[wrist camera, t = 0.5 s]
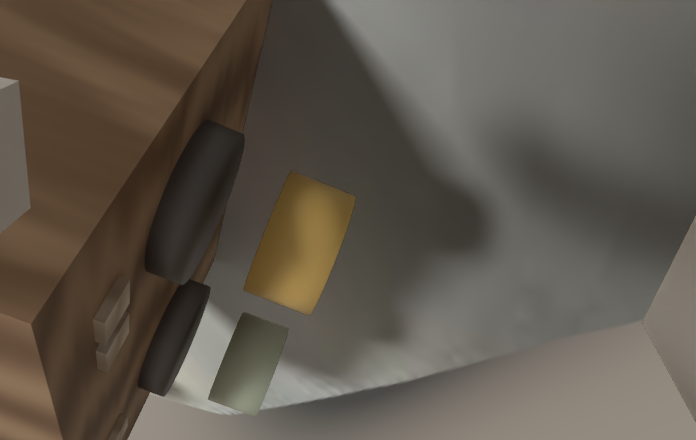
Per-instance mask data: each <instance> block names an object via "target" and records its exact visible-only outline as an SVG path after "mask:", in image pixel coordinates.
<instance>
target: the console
mask: <svg viewBox="0 0 696 440" xmlns="http://www.w3.org/2000/svg"><path fill="white" fill-rule="evenodd" d="M271 3H272V0H0V77H2V78H7V79H12V80H18V81H19V90H20V100H21V111H22V121H23V132H24V143H25V153H26V164H27V174H28V185H29V196H30V206H31V208H30V209H29V210H28V211H26V212H25V213H24V214H23V215H22V216H20V217H19V218H18V219H17V220H16V221H14V222H13V223H12V224H11V225H10V226H8V227H7V228H6V229H5V230H4V231H2V232H1V233H0V440H127V439H128V437H129V435H130V433H131V431H132V428H133V427H134V424H135V422H136V420H137V418H138V416H139V414H140V412H141V410H142V408H143V406H144V404H145V402H146V399H147V398H148V396H149V393H150V392H152V393H155V394H157V395H160V396H163V397H164V396H165V395H166V394H167V392H168V391H169V389H170V387H171V386H172V384H173V382H174V380H175V378H176V376H177V374H178V372H179V370H180V368H181V366H182V364H183V362H184V359H185V357H186V355H187V353H188V350H189V348H190V346H191V343H192V341H193V339H194V336H195V334H196V331H197V329H198V326H199V324H200V321H201V318H202V316H203V313H204V310H205V307H206V304H207V301H208V298H209V294H210V287H209V286H207V285H204V284H203V282H204V280H205V278H206V275H207V273H208V271H209V269H210V267H211V265H212V263H213V261H214V256H215V252H216V247H217V243H218V239H219V234H220V230H221V225H222V221H223V216H224V212H225V208H226V203H227V200H228V198H229V195H230V192H231V189H232V187H233V184H234V181H235V178H236V175H237V171H238V168H239V165H240V161H241V157H242V153H243V148H244V140H245V138H244V134H242V132H243V128H244V123H245V119H246V114H247V110H248V105H249V101H250V97H251V92H252V88H253V83H254V79H255V74H256V70H257V65H258V61H259V57H260V52H261V48H262V43H263V39H264V34H265V30H266V26H267V21H268V17H269V12H270V8H271Z"/></svg>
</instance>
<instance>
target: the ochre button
mask: <svg viewBox="0 0 696 440" xmlns="http://www.w3.org/2000/svg"><path fill="white" fill-rule="evenodd" d="M355 200H356V196H354V195H351V194H349V193H346V192H344V191H341V190H339V189H336V188H334V187H331V186H329V185H326V184H324V183H321V182H319V181H316V180H314V179H311V178H309V177H306V176H304V175H301V174H299V173H296V172H294V171H291V172H290V173H289V175H288V177H287V179H286V182H285V184H284V186H283V188H282V191H281V193H280V195H279V197H278V200H277V202H276V205H275V207H274V209H273V212H272V214H271V217H270V219H269V222H268V224H267V227H266V229H265V232H264V234H263V237H262V239H261V242H260V244H259V247H258V250H257V252H256V255H255V257H254V260H253V263H252V266H251V268H250V271H249V274H248V277H247V280H246V283H245V286H244V291H246V292H248V293H251V294H254V295H256V296H259V297H262V298H264V299H267V300H269V301H272V302H275V303H277V304H280V305H283V306H285V307H288V308H290V309H293V310H296V311H298V312H301V313H304V314H306V315H310V314H311V313H312V311H313V310H314V308H315V306H316V304H317V302H318V300H319V298H320V296H321V293H322V291H323V289H324V287H325V284H326V282H327V280H328V277H329V275H330V273H331V270H332V268H333V265H334V263H335V260H336V258H337V255H338V252H339V250H340V247H341V244H342V242H343V239H344V236H345V233H346V231H347V228H348V225H349V222H350V219H351V215H352V212H353V209H354V205H355Z"/></svg>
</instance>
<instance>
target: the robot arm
mask: <svg viewBox="0 0 696 440" xmlns="http://www.w3.org/2000/svg"><path fill="white" fill-rule="evenodd" d="M30 208H31V206H30V196H29V185H28V174H27V164H26V153H25V143H24V132H23V121H22V111H21V100H20V90H19V81H18V80H12V79H7V78H2V77H0V233H1V232H2V231H4V230H5V229H6V228H7V227H8V226H10V225H11V224H12V223H13V222H14V221H16V220H17V219H18V218H19V217H20V216H22V215H23V214H24V213H25V212H26V211H28V210H29V209H30ZM642 324H643V326H644V328H645V330H646V331H647V334H648V335H649V337H650V339H651V341H652V343H653V345H654V346H655V348H656V350H657V352H658V354H659V356H660V357H661V359H662V361H663V363H664V365H665V366H666V368H667V370H668V372H669V374H670V376H671V378H672V380H673V381H674V383H675V385H676V387H677V389H678V390H679V392H680V394H681V396H682V398H683V400H684V401H685V403H686V405H687V407H688V409H689V411H690V413H691V414H692V416H693V418H694V420H695V421H696V216H695V218H694V220H693V222H692V224H691V226H690V228H689V230H688V232H687V234H686V236H685V238H684V240H683V242H682V244H681V246H680V248H679V250H678V252H677V254H676V256H675V258H674V260H673V262H672V264H671V266H670V268H669V270H668V272H667V274H666V276H665V278H664V280H663V282H662V284H661V286H660V288H659V290H658V292H657V294H656V296H655V298H654V300H653V302H652V304H651V306H650V308H649V310H648V312H647V314H646V316H645V318H644V320H643V322H642Z"/></svg>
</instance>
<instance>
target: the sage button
mask: <svg viewBox="0 0 696 440" xmlns="http://www.w3.org/2000/svg"><path fill="white" fill-rule="evenodd" d="M288 330H289V329H288V328H285V327H283V326H280V325H277V324H275V323H272V322H269V321H267V320H264V319H262V318H259V317H256V316H254V315H251V314H248V313H246V312H243V313H242V315H241V317H240V320H239V322H238V324H237V326H236V329H235V331H234V334H233V336H232V338H231V341H230V343H229V346H228V348H227V350H226V353H225V355H224V358H223V360H222V363H221V365H220V368H219V370H218V373H217V376H216V378H215V381H214V383H213V386H212V389H211V391H210V394H209V397H208V400H211V401H213V402H216V403H219V404H222V405H224V406H227V407H230V408H233V409H235V410H238V411H241V412H244V413H246V414H249V415H252V416H256V415H257V413H258V411H259V409H260V406H261V404H262V402H263V399H264V397H265V395H266V392H267V390H268V387H269V385H270V382H271V380H272V377H273V374H274V372H275V369H276V366H277V364H278V361H279V358H280V355H281V353H282V350H283V347H284V344H285V341H286V338H287V334H288Z"/></svg>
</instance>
